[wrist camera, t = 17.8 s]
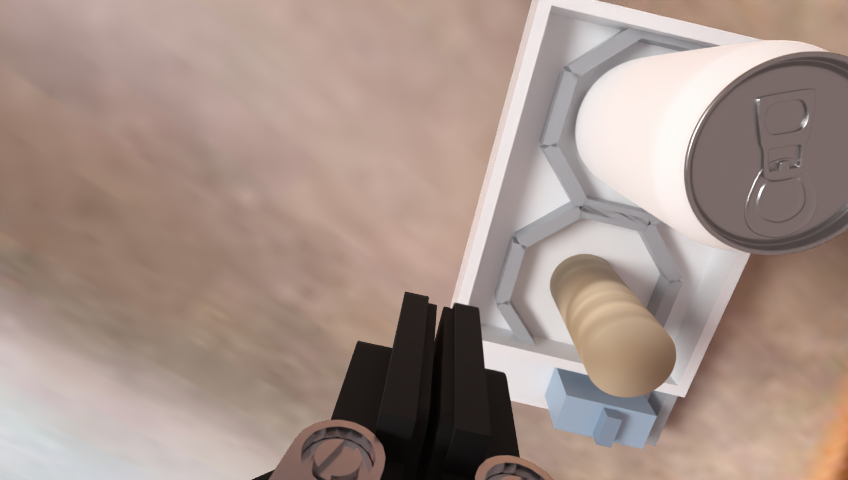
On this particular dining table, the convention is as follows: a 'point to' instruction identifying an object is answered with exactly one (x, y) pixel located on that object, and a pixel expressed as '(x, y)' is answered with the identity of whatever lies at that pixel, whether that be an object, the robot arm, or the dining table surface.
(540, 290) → the housing
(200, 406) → the dining table surface
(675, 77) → the can
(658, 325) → the dowel
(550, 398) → the latch
